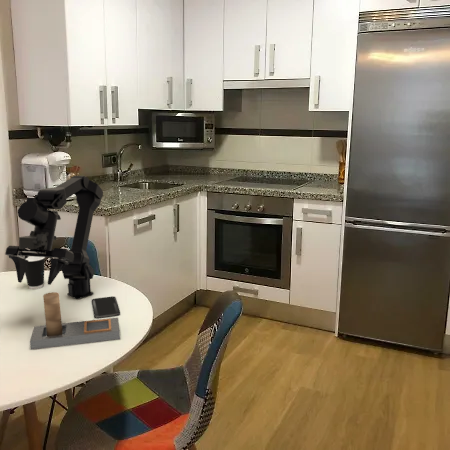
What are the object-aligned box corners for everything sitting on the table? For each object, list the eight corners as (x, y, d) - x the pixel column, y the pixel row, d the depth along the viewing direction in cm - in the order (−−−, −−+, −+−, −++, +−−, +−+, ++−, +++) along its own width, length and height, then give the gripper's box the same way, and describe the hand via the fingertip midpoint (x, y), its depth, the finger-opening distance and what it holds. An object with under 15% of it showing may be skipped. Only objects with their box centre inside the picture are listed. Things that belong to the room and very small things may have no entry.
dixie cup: (51, 286, 171) (49, 257, 169) (29, 292, 166) (26, 262, 164) (42, 281, 177) (39, 252, 174) (20, 286, 172) (17, 257, 169)
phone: (94, 316, 144) (91, 298, 158) (94, 320, 145) (91, 301, 158) (120, 313, 147) (115, 295, 161) (121, 316, 147) (115, 299, 161)
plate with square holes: (30, 349, 126) (29, 339, 125) (34, 334, 134) (33, 325, 134) (120, 339, 132) (119, 329, 131) (118, 325, 140) (118, 316, 140)
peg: (58, 334, 134) (54, 291, 131) (65, 339, 132) (61, 294, 129) (44, 339, 132) (40, 295, 129) (52, 344, 129) (48, 298, 126)
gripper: (-1, 221, 134) (-13, 276, 130) (60, 224, 131) (49, 280, 127) (21, 231, 145) (11, 283, 141) (78, 234, 141) (69, 287, 137)
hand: (34, 283), depth 136 cm, fingers open, 9 cm apart
